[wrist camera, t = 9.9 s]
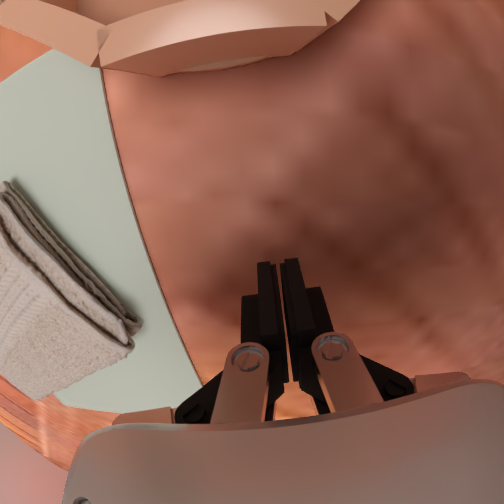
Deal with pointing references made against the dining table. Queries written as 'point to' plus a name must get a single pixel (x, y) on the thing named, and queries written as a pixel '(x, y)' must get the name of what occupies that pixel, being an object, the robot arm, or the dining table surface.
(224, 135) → the dining table surface
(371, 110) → the dining table surface
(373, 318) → the dining table surface
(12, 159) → the mat
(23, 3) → the bowl
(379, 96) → the dining table surface
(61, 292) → the washcloth
